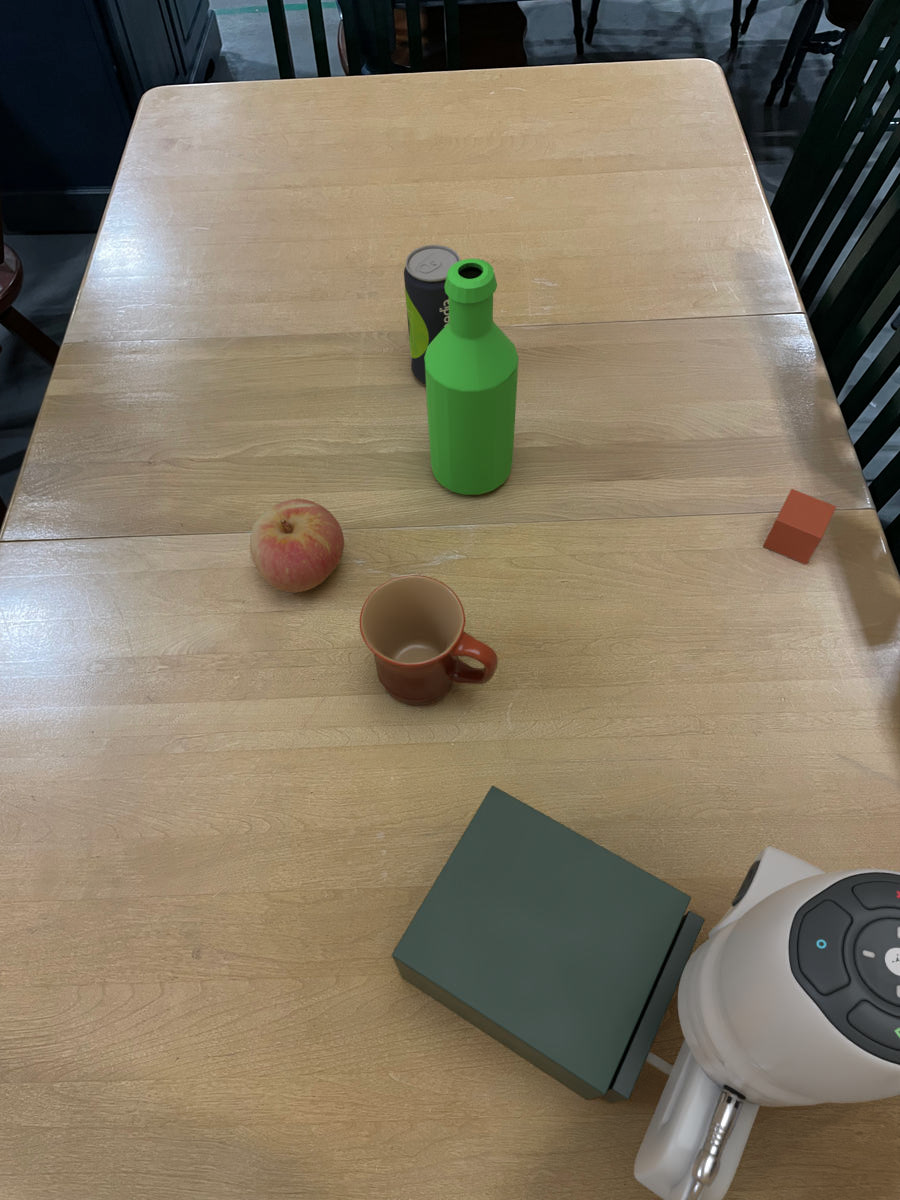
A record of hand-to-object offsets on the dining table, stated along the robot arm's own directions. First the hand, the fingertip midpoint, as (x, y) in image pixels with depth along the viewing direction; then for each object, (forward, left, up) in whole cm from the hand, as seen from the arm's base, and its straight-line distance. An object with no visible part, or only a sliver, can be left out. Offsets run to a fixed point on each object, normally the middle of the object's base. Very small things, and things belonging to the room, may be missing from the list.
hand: (702, 1033), depth 57 cm
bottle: (+41, -40, -7) cm, 58 cm away
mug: (+31, -16, -7) cm, 36 cm away
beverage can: (+52, -51, -7) cm, 73 cm away
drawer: (+8, 0, -5) cm, 10 cm away
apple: (+49, -20, -7) cm, 54 cm away
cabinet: (+12, 0, -6) cm, 14 cm away
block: (+8, -48, -6) cm, 49 cm away
